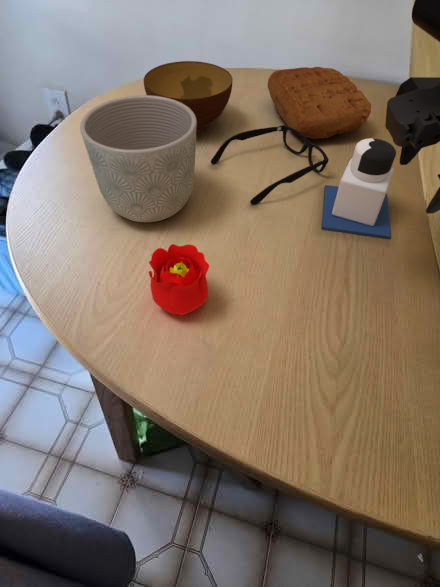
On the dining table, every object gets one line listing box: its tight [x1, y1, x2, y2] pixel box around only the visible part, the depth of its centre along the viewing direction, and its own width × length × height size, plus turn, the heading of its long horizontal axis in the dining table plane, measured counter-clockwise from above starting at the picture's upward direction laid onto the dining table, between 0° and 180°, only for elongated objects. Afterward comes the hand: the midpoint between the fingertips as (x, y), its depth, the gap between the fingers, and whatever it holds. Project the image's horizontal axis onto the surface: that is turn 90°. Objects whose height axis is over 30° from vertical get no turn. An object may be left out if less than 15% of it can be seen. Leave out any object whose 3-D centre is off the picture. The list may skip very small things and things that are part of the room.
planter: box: [79, 94, 197, 223], centre depth 68 cm, size 17×17×15 cm
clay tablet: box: [267, 66, 372, 140], centre depth 91 cm, size 22×17×8 cm
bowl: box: [143, 60, 233, 134], centre depth 88 cm, size 18×18×10 cm
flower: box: [148, 243, 210, 316], centre depth 57 cm, size 8×8×8 cm
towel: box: [321, 184, 392, 240], centre depth 73 cm, size 11×12×1 cm
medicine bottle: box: [332, 137, 397, 226], centre depth 68 cm, size 7×7×12 cm
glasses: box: [210, 124, 330, 205], centre depth 80 cm, size 17×18×5 cm
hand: (415, 187), depth 57 cm, fingers open, 9 cm apart
